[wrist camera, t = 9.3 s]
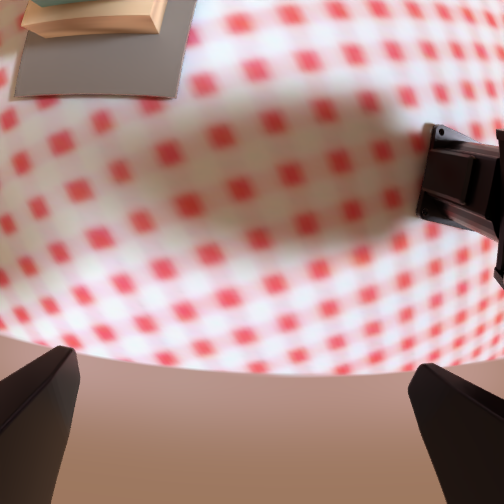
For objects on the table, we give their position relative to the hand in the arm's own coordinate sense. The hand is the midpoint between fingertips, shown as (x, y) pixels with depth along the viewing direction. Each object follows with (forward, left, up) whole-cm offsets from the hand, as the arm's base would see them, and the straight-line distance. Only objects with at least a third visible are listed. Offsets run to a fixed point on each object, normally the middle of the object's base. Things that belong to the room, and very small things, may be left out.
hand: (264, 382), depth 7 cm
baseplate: (+9, -14, -12) cm, 20 cm away
